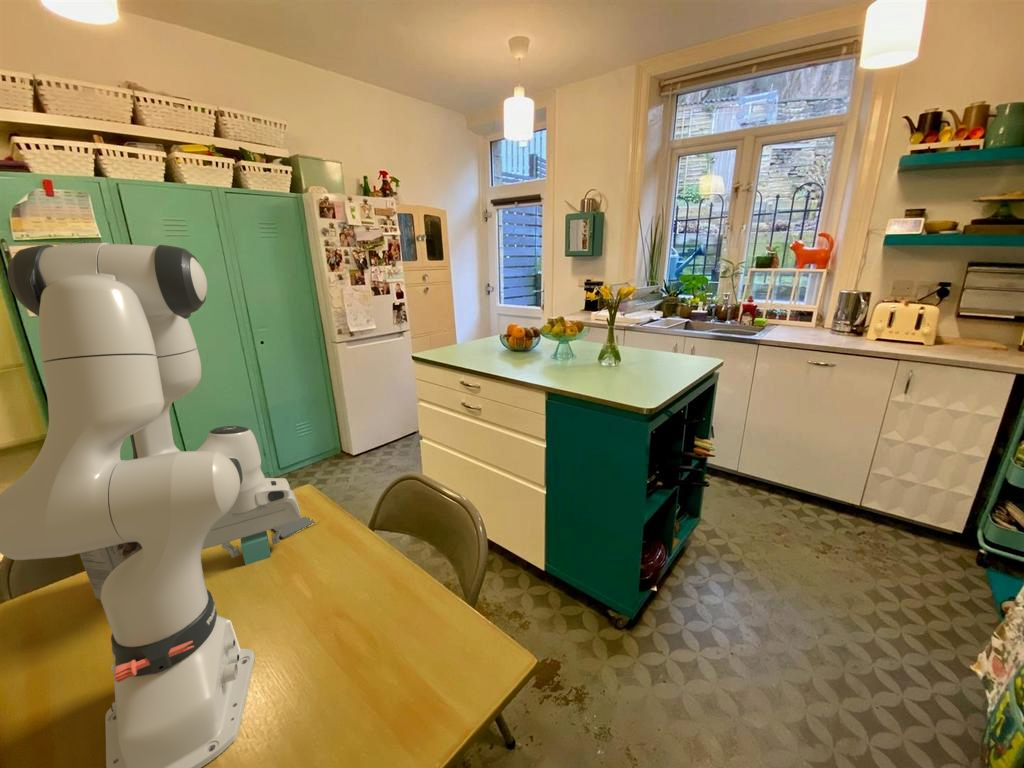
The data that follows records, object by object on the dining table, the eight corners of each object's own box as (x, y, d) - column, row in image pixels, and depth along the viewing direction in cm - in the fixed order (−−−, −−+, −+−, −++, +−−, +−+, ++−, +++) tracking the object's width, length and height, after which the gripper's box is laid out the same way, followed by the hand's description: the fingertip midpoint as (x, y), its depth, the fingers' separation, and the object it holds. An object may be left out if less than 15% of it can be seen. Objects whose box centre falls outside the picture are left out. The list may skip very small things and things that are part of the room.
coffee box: (138, 568, 93) (118, 504, 88) (164, 570, 92) (144, 506, 88) (94, 600, 84) (68, 531, 80) (121, 603, 83) (97, 533, 79)
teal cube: (270, 557, 96) (266, 538, 95) (245, 565, 93) (240, 546, 92) (269, 545, 100) (265, 527, 99) (245, 553, 98) (240, 534, 96)
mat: (319, 522, 108) (319, 520, 108) (283, 539, 102) (282, 537, 102) (299, 505, 116) (298, 503, 116) (263, 520, 109) (263, 518, 109)
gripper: (184, 517, 84) (199, 575, 88) (296, 488, 95) (306, 540, 99) (187, 503, 90) (201, 558, 93) (293, 476, 100) (302, 526, 104)
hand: (256, 548), depth 96 cm, fingers open, 7 cm apart
